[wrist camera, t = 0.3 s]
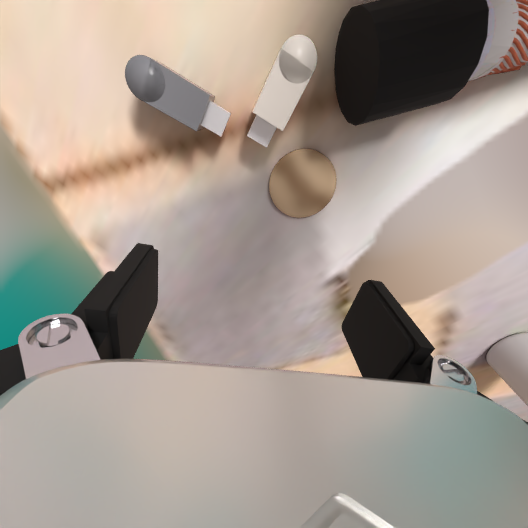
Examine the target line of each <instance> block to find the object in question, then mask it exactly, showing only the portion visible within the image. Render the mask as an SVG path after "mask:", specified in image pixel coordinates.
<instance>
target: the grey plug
mask: <svg viewBox="0 0 528 528" xmlns="http://www.w3.org/2000/svg"><path fill="white" fill-rule="evenodd" d="M125 78H126V82H127V84H128V87H129V89H130V90H131V92H132V93H133V94H134V95H135V96H136V97H137V98H139V99H140V100H142V101H144V102H146V103H147V104H149V105H151V106H153V107H154V108H156V109H158V110H160V111H161V112H163V113H165V114H167V115H169V116H170V117H172V118H174V119H176V120H177V121H179V122H181V123H183V124H185V125H186V126H188V127H190V128H192V129H193V130H195V131H199V130H201V129H203V127H205V128H207V129H209V130H210V131H212V132H214V133H216V134H217V135H219V136H222V134H223V132H224V130H225V127H226V125H227V122H228V120H229V117H230V115H231V113H230V112H228V111H227V110H225V109H223V108H222V107H220V106H218V105H217V104H215V103H214V102H213V101H214V98H215V96H214V95H212V94H210V93H209V92H207V91H205V90H204V89H202V88H201V87H199V86H197V85H196V84H194V83H193V82H191V81H189V80H188V79H186V78H185V77H183V76H181V75H180V74H178V73H176V72H175V71H173V70H172V69H170V68H168V67H167V66H165V65H163V64H162V63H159V62H157V61H155V60H153V59H151V58H149V57H147V56H144V55H137V56H134V57H132V58H131V59H130V60H129V61H128V63H127V65H126V69H125Z"/></svg>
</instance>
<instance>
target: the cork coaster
mask: <svg viewBox="0 0 528 528" xmlns="http://www.w3.org/2000/svg"><path fill="white" fill-rule="evenodd" d="M335 188H336V173H335V169H334V167H333V165H332V163H331V162H330V160H329V159H328V158H327V157H326V156H324V155H323V154H322V153H320V152H318V151H315V150H312V149H299V150H295V151H292V152H290V153H288V154H286V155H285V156H284V157H282V158H281V159H280V160H279V161H278V163H277V164H276V165H275V167H274V169H273V171H272V173H271V176H270V181H269V190H270V195H271V198H272V201H273V202H274V204H275V206H276V207H277V208H278V209H279V210H280V211H281V212H283V213H284V214H286V215H288V216H292V217H297V218H302V217H308V216H311V215H314V214H316V213H318V212H319V211H321V210H322V209H323V208H324V207H325V206H326V205H327V204H328V203H329V201H330V200H331V198H332V196H333V194H334V191H335Z"/></svg>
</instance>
